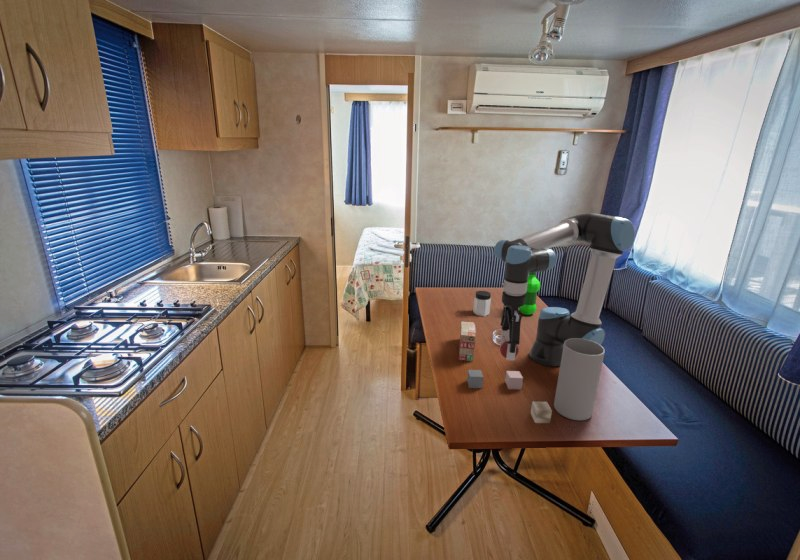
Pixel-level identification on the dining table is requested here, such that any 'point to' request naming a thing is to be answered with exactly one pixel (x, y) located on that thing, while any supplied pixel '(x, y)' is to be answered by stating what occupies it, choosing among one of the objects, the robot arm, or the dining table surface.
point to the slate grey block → (475, 379)
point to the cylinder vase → (578, 378)
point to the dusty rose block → (514, 380)
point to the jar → (482, 303)
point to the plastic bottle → (530, 295)
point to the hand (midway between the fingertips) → (507, 353)
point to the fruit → (504, 349)
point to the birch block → (541, 412)
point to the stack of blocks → (467, 341)
